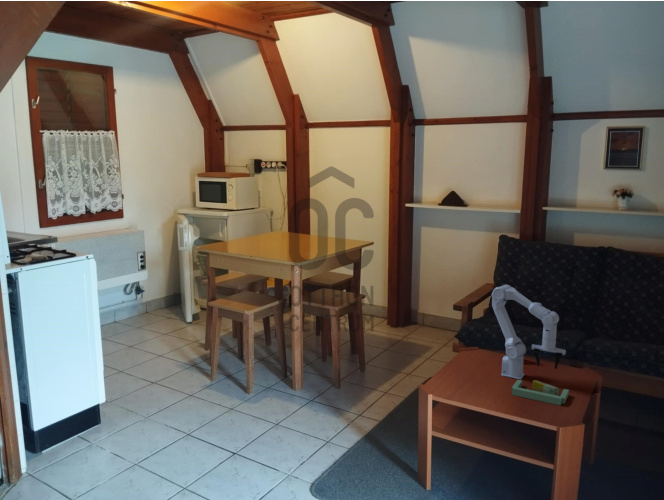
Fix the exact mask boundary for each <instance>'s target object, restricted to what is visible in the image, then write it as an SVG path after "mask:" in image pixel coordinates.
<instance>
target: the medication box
mask: <svg viewBox="0 0 664 500" xmlns="http://www.w3.org/2000/svg"><path fill="white" fill-rule="evenodd" d="M531 388H532V389H531V390H533V391H537V392H542V393H547V394H552V395H556V396H559V392H560V388H559V387H556V386H554V385H551V384H548V383H547V382H546V383H545V382H542V381H539V380H536V379H534V380H532V387H531Z"/></svg>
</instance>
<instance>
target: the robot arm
mask: <svg viewBox="0 0 664 500" xmlns="http://www.w3.org/2000/svg"><path fill="white" fill-rule="evenodd" d="M490 295H491V306H492V309H493V312H494V315H495V317H496V319H497V322H498V324H499V326H500V329H501V331H502V334H503V337H504V338H505V341H504V342H505V343H504V346H505V355H504V356H503V358H502V361H501V374H500V375H501V376H502V377H507V378H512V379H517V380H522V379H523V377H524V376H525V375H526V374H525V373H523V372H524V359H525V358H524V355H525V354H526V352H527V348H526V345H525V344H524V342H522V341H521V339H522V338H520V337H518V336H517V333H516V330H515V329H514V327H513V324H512V321H511V318H510V316H509V314H508V311H507V309H506V306H505V305H506V303H507V301H510V300H513V301H515V302H517V303H518V304H520V305H521V306H524V307H525V308H526V309H528V311H529V313H530V314H531V315H533V316H534V317H535V318H537V319H539V320H540V321H541V323H542V325H543V328H542V329H543V330H542V338H541V339H542V340H541V341H542V342H541V344H533V343H532V344H531V350H533V352H532V353H533V354H534V357H535V361H536V366H540V364H541V351H542V352H548V353H553V354H554V353H555V360H554V361H555V362H554V369H555V370H557V369H558V366H559V362H560V360H561V358H562V357H563V356H565V355H566V354H567V353H566V351H567V350H566V349H563V348H559V347H557V346H556V343H557V330H558V329H557V328H558V327H557V326H558V322H559V321H560V316H559V314H558V313H557V312H556V311H554V310H553V311H551V310H550V309H548V308H546V307H545V306H543V305H542V303H541V302H536V301H535V302H533V301H531V300H530V299H528V298H527V297H526V296H524V295H523V294H521V292H519V291H518V290H516V288H514V287H512V286H511V285H509V284H503V285H501V286H497V287H495V288H493V290H492V293H491V294H490Z"/></svg>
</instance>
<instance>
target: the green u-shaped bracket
mask: <svg viewBox="0 0 664 500" xmlns="http://www.w3.org/2000/svg"><path fill="white" fill-rule="evenodd" d="M522 386H523V380H522V379H517V380H515V382H514V384H513V385H512V386H511V393H512V396H515V397H519V398H520V397H521V398H525V399H529V400H533V401H538V402H542V403H548V404H552V405H553V404H554V405H557V406H562V405H565V403H566V401H567V400H568V397H569V395H570V394H569V393H570V392H569V391H570V389H565V388H564V389H563V390H562V391H561V394H560V395H558V396H556V395H552V394H547V393H542V392H539V391H537V390H534V389H527V388H524V387H522Z"/></svg>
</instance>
